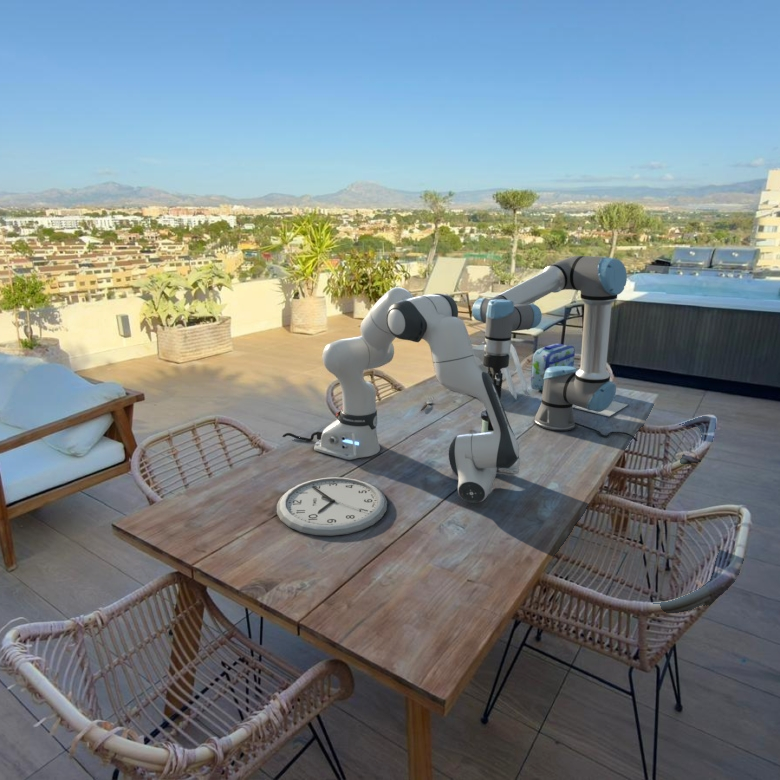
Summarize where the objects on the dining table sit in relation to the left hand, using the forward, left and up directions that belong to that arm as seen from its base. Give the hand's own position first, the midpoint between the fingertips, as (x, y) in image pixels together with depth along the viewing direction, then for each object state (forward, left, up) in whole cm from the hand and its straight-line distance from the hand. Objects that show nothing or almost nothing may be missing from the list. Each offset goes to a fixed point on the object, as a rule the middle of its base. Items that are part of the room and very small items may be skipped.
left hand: (489, 450), depth 164 cm
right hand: (0, -1, +9) cm, 9 cm away
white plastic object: (-16, +80, -6) cm, 81 cm away
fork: (-34, +51, -6) cm, 62 cm away
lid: (0, -1, +12) cm, 12 cm away
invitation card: (+36, +79, -6) cm, 87 cm away
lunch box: (+14, +100, -6) cm, 101 cm away
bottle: (0, -1, -6) cm, 6 cm away
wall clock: (-36, -38, -6) cm, 53 cm away
